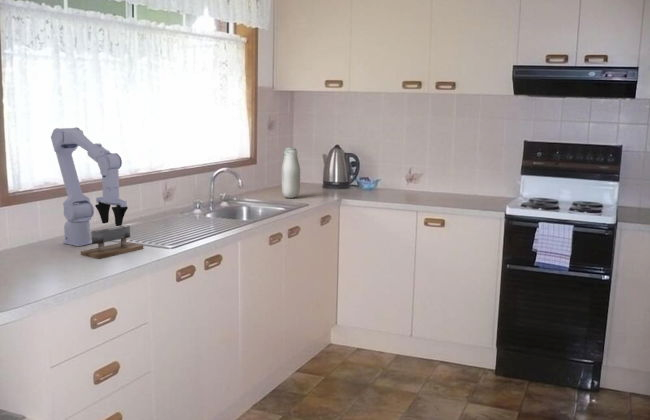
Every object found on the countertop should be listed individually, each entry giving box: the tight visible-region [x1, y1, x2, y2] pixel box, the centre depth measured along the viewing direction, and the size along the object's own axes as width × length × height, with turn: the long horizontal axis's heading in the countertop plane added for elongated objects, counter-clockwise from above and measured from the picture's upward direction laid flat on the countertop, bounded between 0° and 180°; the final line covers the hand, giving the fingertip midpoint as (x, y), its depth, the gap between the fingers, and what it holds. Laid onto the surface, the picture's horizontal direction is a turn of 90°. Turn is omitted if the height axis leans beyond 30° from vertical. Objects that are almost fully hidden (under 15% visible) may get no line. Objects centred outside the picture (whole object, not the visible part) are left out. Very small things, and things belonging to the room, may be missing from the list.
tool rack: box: [80, 238, 144, 260], centre depth 252 cm, size 10×20×4 cm, turn 146°
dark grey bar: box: [90, 224, 131, 245], centre depth 251 cm, size 4×16×4 cm, turn 146°
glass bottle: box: [280, 146, 301, 199], centre depth 381 cm, size 10×10×28 cm
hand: (112, 224), depth 252 cm, fingers open, 7 cm apart
